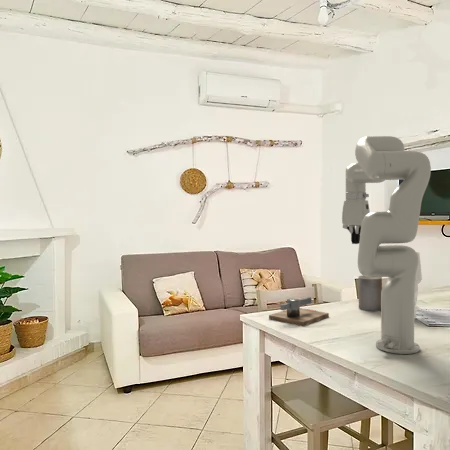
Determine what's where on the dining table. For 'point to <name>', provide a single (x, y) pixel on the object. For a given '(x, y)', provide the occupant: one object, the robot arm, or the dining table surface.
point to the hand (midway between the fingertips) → (355, 243)
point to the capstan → (295, 306)
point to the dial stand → (300, 317)
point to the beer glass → (415, 297)
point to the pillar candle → (369, 293)
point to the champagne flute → (418, 276)
